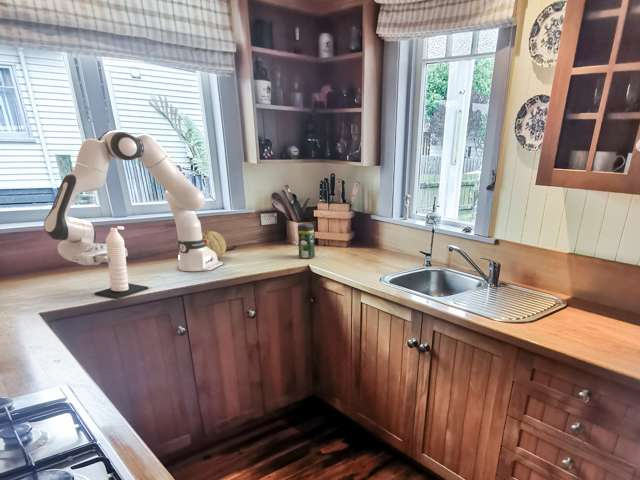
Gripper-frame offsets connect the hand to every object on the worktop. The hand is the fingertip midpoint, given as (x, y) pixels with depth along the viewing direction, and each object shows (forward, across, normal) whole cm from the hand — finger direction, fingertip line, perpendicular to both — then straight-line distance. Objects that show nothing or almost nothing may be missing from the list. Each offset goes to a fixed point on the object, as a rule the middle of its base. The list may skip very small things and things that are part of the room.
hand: (116, 257), depth 188 cm
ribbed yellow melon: (-7, +64, +14) cm, 66 cm away
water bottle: (-1, 0, +13) cm, 13 cm away
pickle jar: (+34, +93, +14) cm, 100 cm away
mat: (-1, 0, +14) cm, 14 cm away
